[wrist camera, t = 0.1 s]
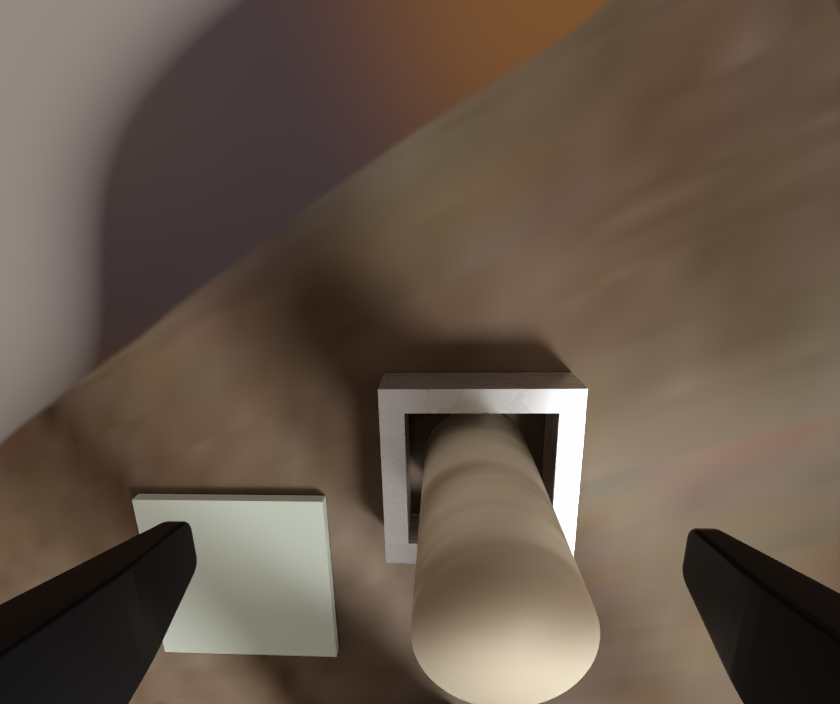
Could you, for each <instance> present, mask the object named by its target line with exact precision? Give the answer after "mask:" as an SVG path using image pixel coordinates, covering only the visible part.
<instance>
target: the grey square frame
mask: <svg viewBox="0 0 840 704" xmlns="http://www.w3.org/2000/svg"><path fill="white" fill-rule="evenodd" d="M587 393H588V389H587V387H586V386H585V385H584V384H583V383H582V382H581V381H580V380H579V379H578V378H577V377H576V376H575V375H574V374H573V373H572V372H505V373H384V376H383V378H382V380H381V383H380V385H379V388H378V405H379V426H380V446H381V467H382V488H383V508H384V529H385V550H386V563H416V558H417V545H418V532H419V520H420V514H418V513H412V509H411V475H410V440H409V413H545V430H544V447H543V464H542V482H543V484H544V487H545V489H546V491H547V494H548V496H549V499H550V501H551V504H552V506H553V508H554V511H555V513H556V516H557V518H558V521H559V523H560V525H561V528H562V530H563V533H564V535H565V537H566V540H567V542H568V545H569V547H570V550H571V552H572V554H573V557H574V547H575V535H576V523H577V511H578V499H579V487H580V476H581V464H582V452H583V440H584V428H585V417H586V405H587Z"/></svg>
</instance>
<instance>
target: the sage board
mask: <svg viewBox="0 0 840 704" xmlns="http://www.w3.org/2000/svg"><path fill="white" fill-rule="evenodd" d="M132 503H133V507H134V512H135V517H136V521H137V526H138V530H139V534H141V533H143V532H145V531H147V530H149V529H151V528H153V527H155V526H157V525H158V524H160V523H163V522H166V521H185V522H187V523H189V525H190V526H191V529H192V534H193V540H194V545H195V551H196V556H197V565H196V569H195V573H194V575H193V577H192V579H191V581H190V584H189V586H188V588H187V590H186V592H185V594H184V596H183V598H182V601H181V603H180V605H179V607H178V609H177V611H176V613H175V616H174V618H173V620H172V622H171V624H170V626H169V628H168V630H167V633H166V635H165V637H164V639H163V644H164V649H165V652H188V653H222V654H255V655H289V656H323V657H337V653H338V649H339V646H338V635H337V624H336V612H335V601H334V589H333V578H332V566H331V555H330V543H329V532H328V521H327V509H326V498H325V496H317V495H218V494H138V495H137V496H136V497H134V498H133V499H132Z"/></svg>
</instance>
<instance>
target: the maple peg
mask: <svg viewBox="0 0 840 704" xmlns="http://www.w3.org/2000/svg"><path fill="white" fill-rule="evenodd" d="M411 641H412V647H413V650H414V654H415V656H416V658H417V661H418V663H419V664H420V666H421V667H422V669H423V671H424V672H425V673H426V674H427V675H428V677H429V678H430V679H431V680H432V681H433V682H434V683H436V684H437V685H438V686H439V687H440V688H442V689H443V690H445V691H446V692H448V693H450V694H451V695H453V696H455V697H457V698H459V699H462V700H464V701H467V702H470V703H473V704H539V703H542V702H545V701H548V700H550V699H552V698H554V697H557V696H559V695H560V694H562V693H564V692H565V691H567V690H568V689H570V688H571V687H572V686H574V685H575V684H576V683H577V682H578V681H579V680H580V679H581V678H582V677H583V676H584V675H585V674H586V672H587V671H588V670H589V668H590V667H591V665H592V663H593V661H594V659H595V657H596V654H597V651H598V647H599V642H600V625H599V619H598V616H597V613H596V610H595V608H594V605H593V603H592V600H591V598H590V596H589V593H588V591H587V588H586V586H585V583H584V581H583V579H582V576H581V574H580V571H579V569H578V567H577V564H576V562H575V559H574V557H573V554H572V552H571V550H570V547H569V545H568V542H567V540H566V537H565V535H564V533H563V530H562V528H561V525H560V523H559V521H558V518H557V516H556V513H555V511H554V508H553V506H552V504H551V501H550V499H549V496H548V494H547V491H546V489H545V487H544V484H543V482H542V479H541V477H540V474H539V472H538V470H537V467H536V465H535V462H534V460H533V458H532V455H531V453H530V450H529V448H528V445H527V443H526V441H525V438H524V436H523V434H522V432H521V431H520V430H519V428H518V427H517V426H516V425H515V424H514V423H513V422H512V421H511V420H510V419H508V418H507V417H505V416H504V415H502V414H499V413H454V414H451V415H449V416H448V417H446V418H445V419H443V420H442V421H441V422H440V423H439V424H438V425H437V426H436V427H435V428H434V429H433V431H432V432H431V434H430V436H429V438H428V440H427V443H426V447H425V455H424V468H423V481H422V494H421V507H420V520H419V532H418V545H417V558H416V571H415V584H414V597H413V610H412V623H411Z"/></svg>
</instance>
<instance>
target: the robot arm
mask: <svg viewBox="0 0 840 704" xmlns="http://www.w3.org/2000/svg"><path fill="white" fill-rule="evenodd" d="M196 565H197V556H196V551H195V545H194V540H193V534H192V529H191V526H190V525H189V523H187V522H185V521H166V522H163V523H160V524H158V525H157V526H155V527H153V528H151V529H149V530H147V531H145V532H143V533H141V534H139V535H137V536H135V537H133V538H131V539H129V540H127V541H125V542H123V543H121V544H119V545H117V546H115V547H113V548H111V549H109V550H107V551H105V552H103V553H101V554H99V555H97V556H95V557H93V558H91V559H89V560H87V561H86V562H84V563H82V564H80V565H78V566H76V567H74V568H72V569H70V570H68V571H66V572H64V573H62V574H60V575H58V576H56V577H54V578H52V579H50V580H48V581H46V582H44V583H42V584H40V585H38V586H36V587H34V588H32V589H30V590H28V591H26V592H24V593H22V594H20V595H18V596H17V597H15V598H13V599H11V600H9V601H7V602H5V603H3V604H1V605H0V704H128V703H129V702H130V700H131V698H132V696H133V695H134V693H135V691H136V689H137V688H138V686H139V684H140V682H141V681H142V679H143V677H144V676H145V674H146V672H147V670H148V668H149V666H150V665H151V663H152V661H153V659H154V657H155V655H156V653H157V651H158V649H159V647H160V645H161V643H162V641H163V639H164V637H165V635H166V633H167V630H168V628H169V626H170V624H171V622H172V620H173V618H174V616H175V613H176V611H177V609H178V607H179V605H180V603H181V601H182V598H183V596H184V594H185V592H186V590H187V588H188V586H189V584H190V581H191V579H192V577H193V575H194V573H195V569H196ZM683 577H684V580H685V583H686V585H687V588H688V590H689V592H690V594H691V596H692V599H693V601H694V603H695V605H696V607H697V609H698V612H699V614H700V616H701V618H702V620H703V623H704V625H705V627H706V629H707V631H708V633H709V636H710V638H711V640H712V642H713V644H714V646H715V649H716V651H717V653H718V655H719V657H720V660H721V662H722V664H723V666H724V668H725V670H726V672H727V674H728V676H729V678H730V680H731V682H732V683H733V685H734V687H735V689H736V691H737V693H738V694H739V696H740V698H741V700H742V701H743V703H744V704H840V593H838V592H836V591H834V590H832V589H830V588H828V587H826V586H825V585H823V584H821V583H819V582H817V581H815V580H813V579H811V578H809V577H807V576H806V575H804V574H802V573H800V572H798V571H796V570H794V569H792V568H790V567H788V566H787V565H785V564H783V563H781V562H779V561H777V560H775V559H773V558H771V557H770V556H768V555H766V554H764V553H762V552H760V551H758V550H756V549H754V548H752V547H751V546H749V545H747V544H745V543H743V542H741V541H739V540H737V539H735V538H733V537H732V536H730V535H728V534H726V533H724V532H722V531H720V530H718V529H701V528H695V529H692V530H691V531H690V532H689V534H688V537H687V543H686V549H685V556H684V562H683Z"/></svg>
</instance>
